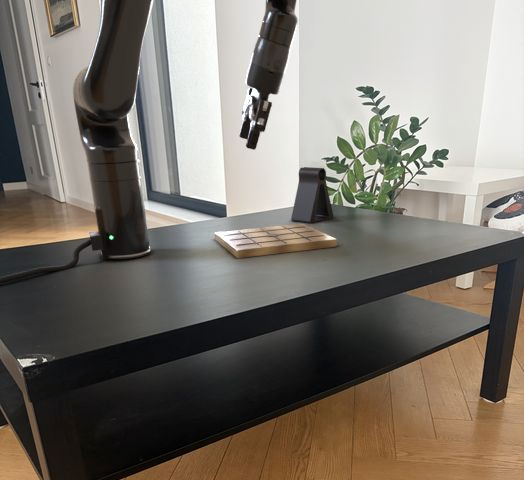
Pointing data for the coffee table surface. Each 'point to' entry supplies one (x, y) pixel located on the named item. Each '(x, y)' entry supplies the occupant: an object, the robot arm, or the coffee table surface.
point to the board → (273, 240)
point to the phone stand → (312, 197)
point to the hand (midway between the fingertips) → (246, 143)
